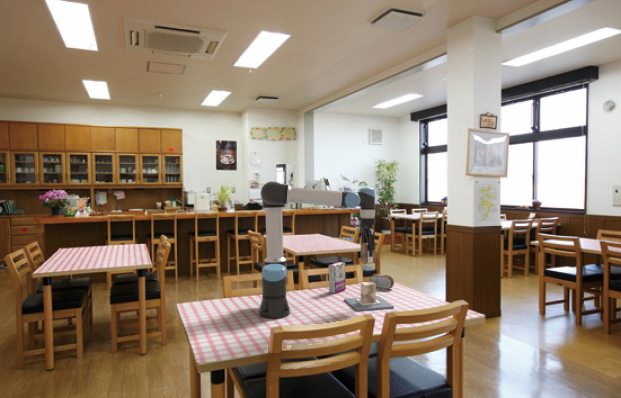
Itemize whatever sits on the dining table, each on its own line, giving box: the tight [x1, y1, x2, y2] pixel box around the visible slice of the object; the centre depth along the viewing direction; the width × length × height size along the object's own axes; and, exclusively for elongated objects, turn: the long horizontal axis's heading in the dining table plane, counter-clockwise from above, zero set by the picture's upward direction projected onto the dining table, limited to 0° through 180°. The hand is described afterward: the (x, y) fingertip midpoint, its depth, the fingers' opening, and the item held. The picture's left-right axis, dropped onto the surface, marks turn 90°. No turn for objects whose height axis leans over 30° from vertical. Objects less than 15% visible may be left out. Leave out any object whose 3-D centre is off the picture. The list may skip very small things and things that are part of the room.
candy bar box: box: [328, 261, 347, 294], centre depth 241 cm, size 11×5×16 cm, turn 143°
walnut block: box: [360, 242, 377, 265], centre depth 213 cm, size 6×6×10 cm
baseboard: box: [343, 295, 395, 312], centre depth 213 cm, size 20×20×1 cm
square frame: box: [356, 299, 381, 306], centre depth 213 cm, size 10×10×1 cm
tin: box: [369, 273, 395, 290], centre depth 247 cm, size 15×3×8 cm, turn 58°
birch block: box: [360, 281, 377, 303], centre depth 213 cm, size 6×6×10 cm
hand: (367, 261), depth 213 cm, fingers closed on walnut block, 6 cm apart
